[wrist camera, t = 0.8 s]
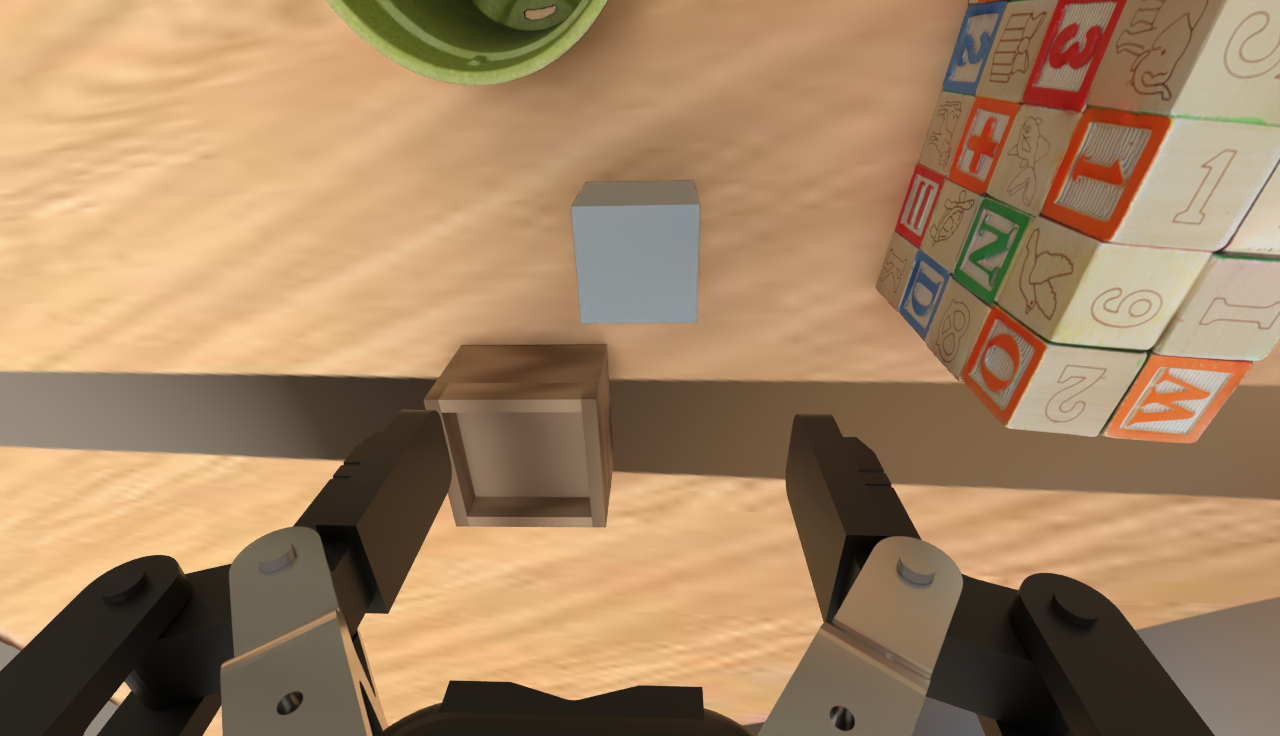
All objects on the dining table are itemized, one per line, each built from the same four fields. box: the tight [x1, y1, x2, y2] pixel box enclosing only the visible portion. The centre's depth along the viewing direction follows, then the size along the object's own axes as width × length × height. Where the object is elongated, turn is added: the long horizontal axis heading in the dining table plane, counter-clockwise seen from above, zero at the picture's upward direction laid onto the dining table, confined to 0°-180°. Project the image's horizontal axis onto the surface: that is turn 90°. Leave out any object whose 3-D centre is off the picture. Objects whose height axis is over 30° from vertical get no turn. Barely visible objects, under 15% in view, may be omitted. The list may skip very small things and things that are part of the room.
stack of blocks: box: [876, 0, 1280, 443], centre depth 17 cm, size 21×6×12 cm, turn 175°
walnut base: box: [424, 345, 614, 527], centre depth 30 cm, size 8×8×6 cm
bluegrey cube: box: [571, 180, 700, 324], centre depth 25 cm, size 5×5×5 cm
